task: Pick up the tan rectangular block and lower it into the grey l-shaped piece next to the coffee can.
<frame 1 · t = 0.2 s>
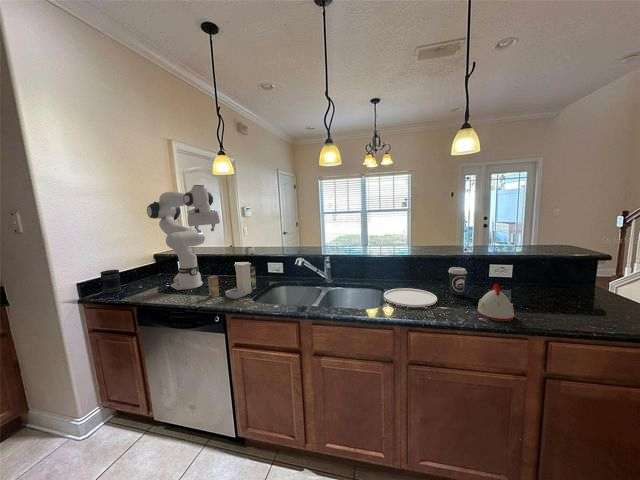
hand: (206, 232, 168), 39 cm above the counter, tool pointing down, fingers open, 8 cm apart
coffee can: (248, 288, 177), on the counter
grey l-shaped piece: (238, 295, 162), on the counter
kitchen timer: (494, 316, 121), on the counter
plate: (409, 300, 146), on the counter
coffee cup: (456, 294, 152), on the counter
tan rectangular block: (214, 295, 163), on the counter
storage jar: (112, 293, 175), on the counter
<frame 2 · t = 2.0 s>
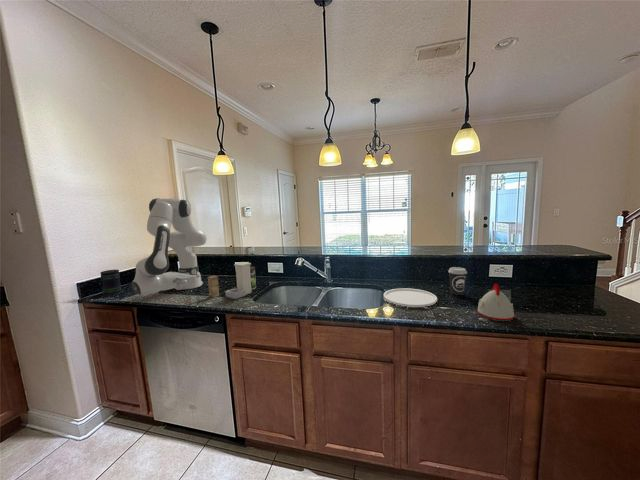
hand: (193, 274, 151), 16 cm above the counter, tool horizontal, fingers open, 8 cm apart
nothing on the counter moved.
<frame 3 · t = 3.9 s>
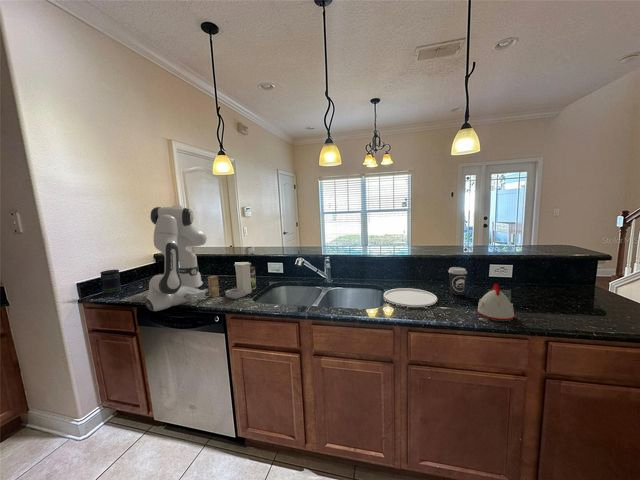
hand: (202, 288, 156), 6 cm above the counter, tool horizontal, fingers open, 8 cm apart
nothing on the counter moved.
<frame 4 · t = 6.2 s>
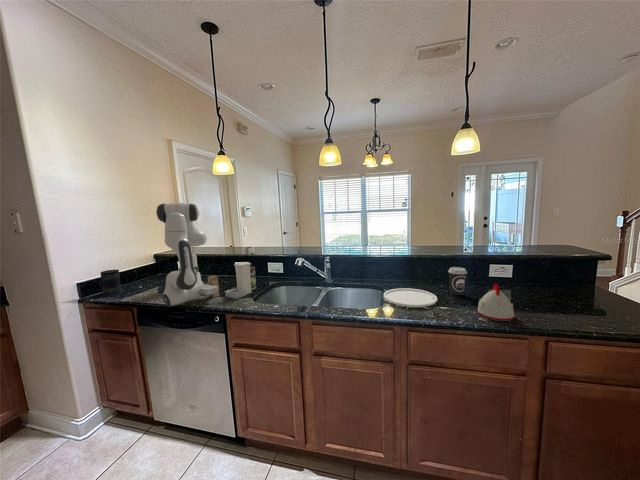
hand: (214, 285, 163), 7 cm above the counter, tool horizontal, fingers closed on tan rectangular block, 4 cm apart
tan rectangular block: (214, 295, 163), on the counter, touching gripper
everything else where it was.
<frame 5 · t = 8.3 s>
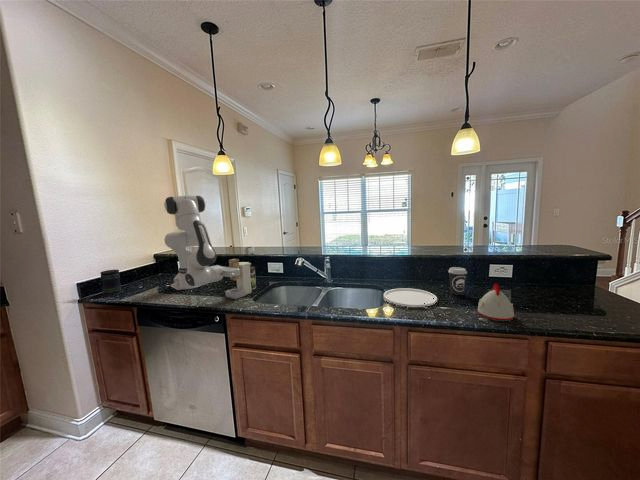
hand: (235, 268, 160), 17 cm above the counter, tool horizontal, fingers closed on tan rectangular block, 4 cm apart
tan rectangular block: (235, 279, 160), point 11 cm above the counter, touching gripper
everything else where it was.
when the fingers open (8 cm above the counter, at t = 10.7 s): tan rectangular block stays where it is, resting on grey l-shaped piece.
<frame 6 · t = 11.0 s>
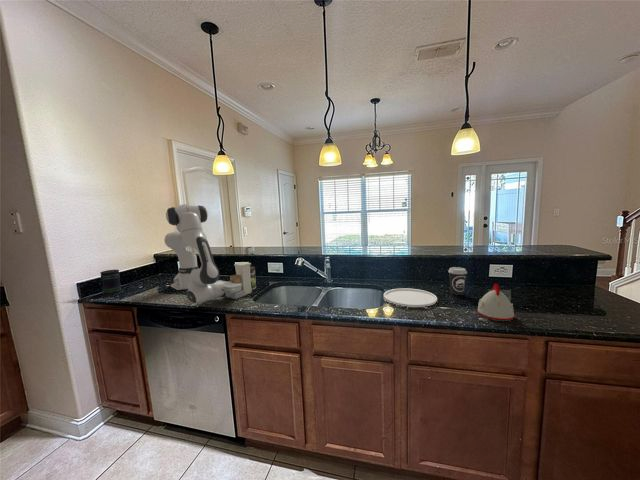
hand: (236, 282, 161), 8 cm above the counter, tool horizontal, fingers open, 6 cm apart
tan rectangular block: (236, 295, 161), point 1 cm above the counter, touching grey l-shaped piece
everything else where it was.
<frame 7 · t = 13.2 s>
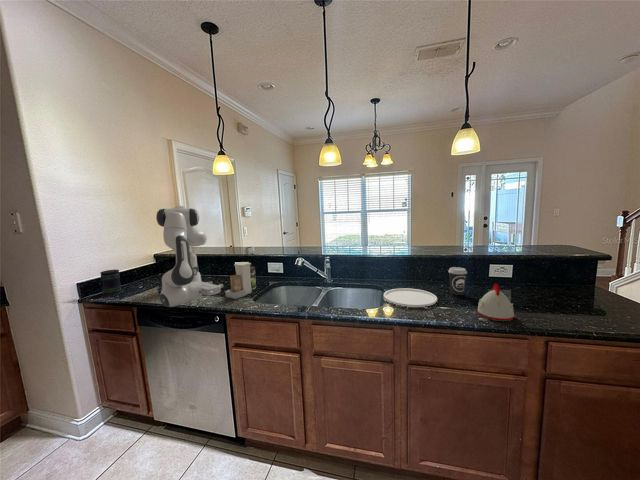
hand: (217, 284, 150), 11 cm above the counter, tool horizontal, fingers open, 8 cm apart
nothing on the counter moved.
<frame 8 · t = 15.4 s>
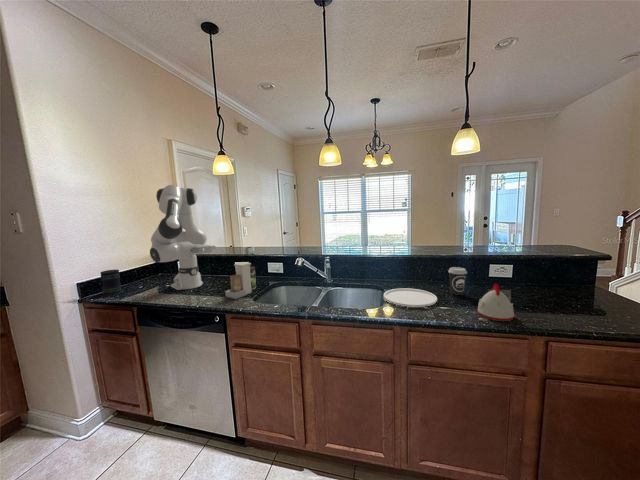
hand: (209, 246, 150), 32 cm above the counter, tool horizontal, fingers open, 8 cm apart
nothing on the counter moved.
at the end: tan rectangular block 0.1 cm from the target spot on the grey l-shaped piece, point 0.6 cm above the grey l-shaped piece's base; tan rectangular block tilted 0°; the gripper is holding nothing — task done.
